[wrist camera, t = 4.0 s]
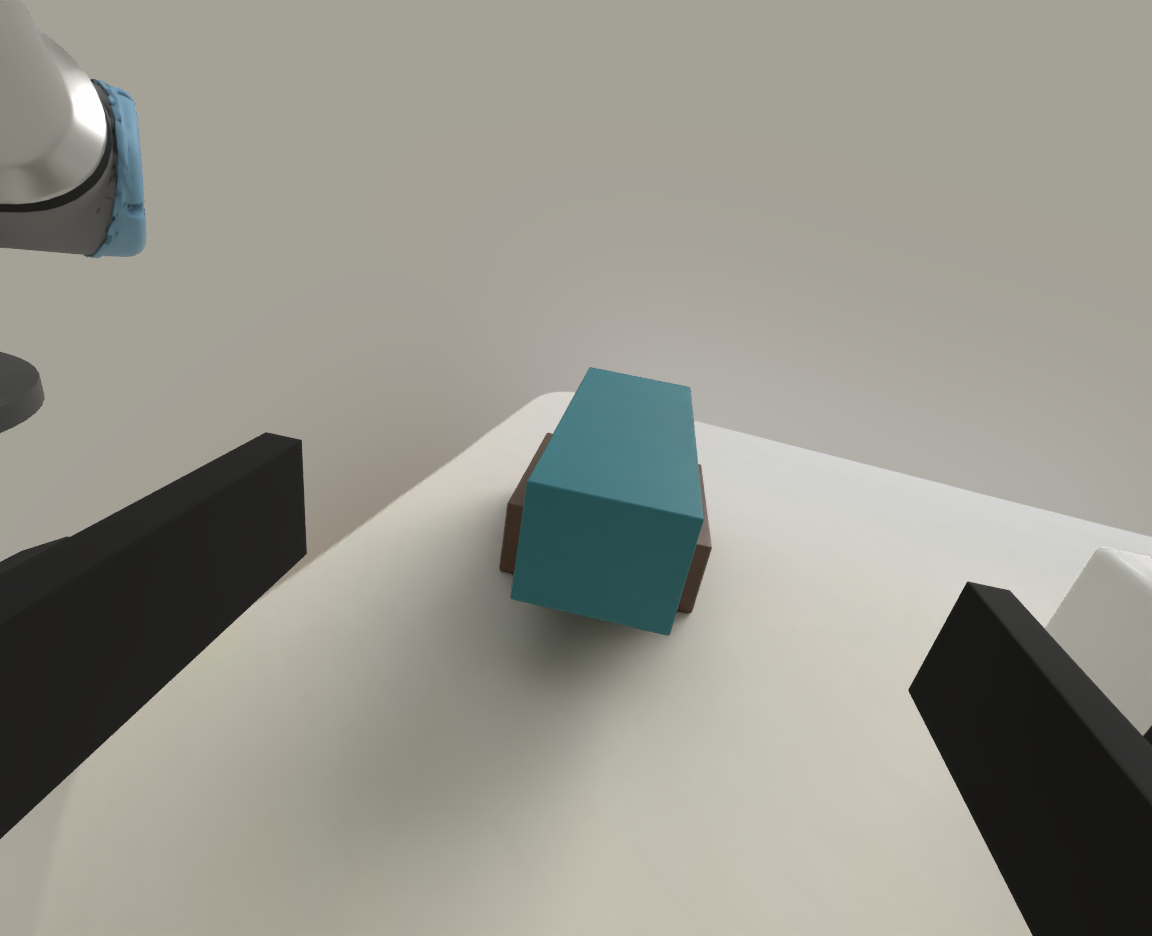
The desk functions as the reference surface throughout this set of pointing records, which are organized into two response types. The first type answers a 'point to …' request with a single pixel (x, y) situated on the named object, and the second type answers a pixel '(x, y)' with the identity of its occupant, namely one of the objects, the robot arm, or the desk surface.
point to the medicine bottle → (1112, 630)
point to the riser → (514, 526)
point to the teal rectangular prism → (614, 505)
